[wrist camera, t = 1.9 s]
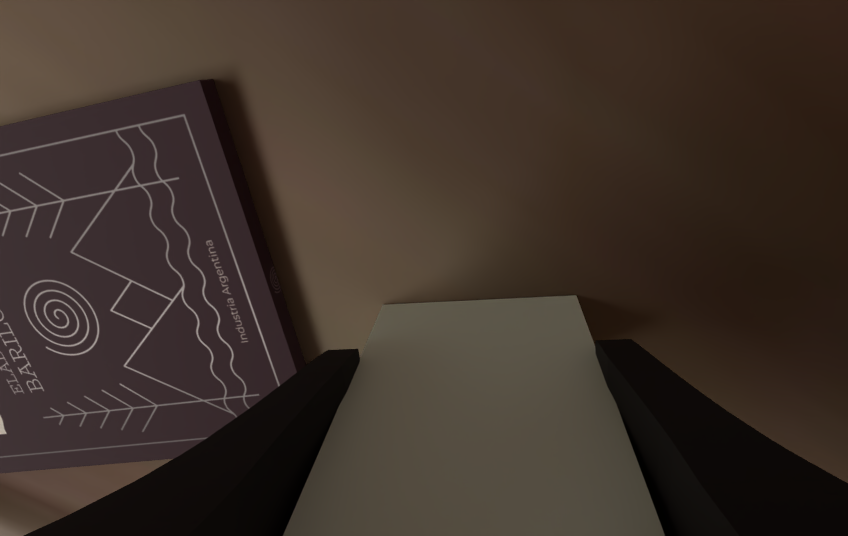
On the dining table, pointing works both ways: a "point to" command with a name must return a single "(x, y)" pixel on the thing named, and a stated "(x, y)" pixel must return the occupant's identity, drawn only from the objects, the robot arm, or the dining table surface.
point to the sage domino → (477, 431)
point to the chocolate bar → (131, 283)
